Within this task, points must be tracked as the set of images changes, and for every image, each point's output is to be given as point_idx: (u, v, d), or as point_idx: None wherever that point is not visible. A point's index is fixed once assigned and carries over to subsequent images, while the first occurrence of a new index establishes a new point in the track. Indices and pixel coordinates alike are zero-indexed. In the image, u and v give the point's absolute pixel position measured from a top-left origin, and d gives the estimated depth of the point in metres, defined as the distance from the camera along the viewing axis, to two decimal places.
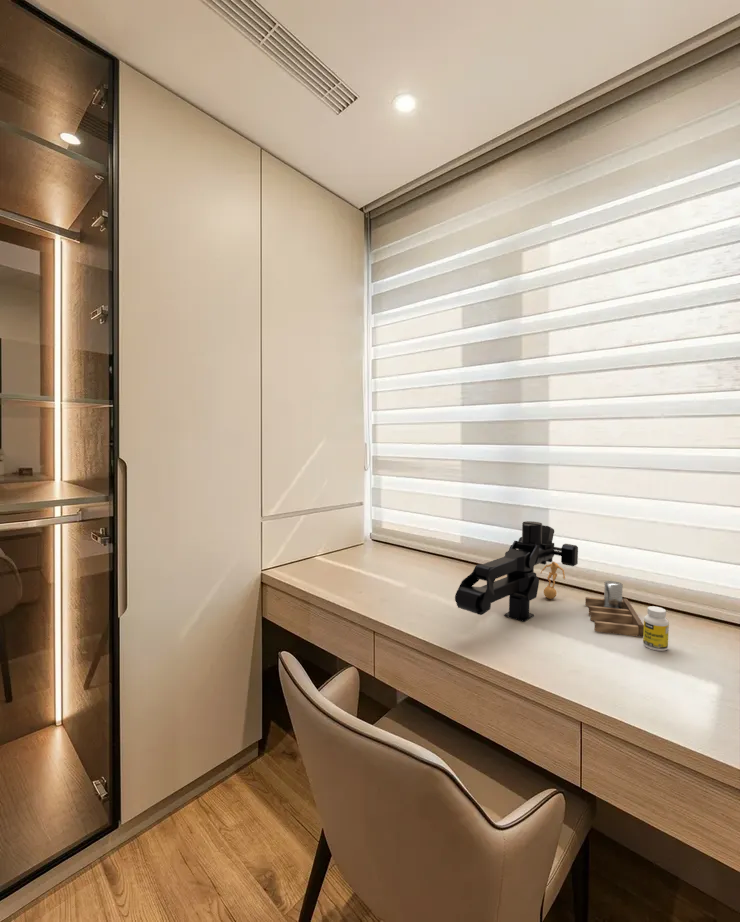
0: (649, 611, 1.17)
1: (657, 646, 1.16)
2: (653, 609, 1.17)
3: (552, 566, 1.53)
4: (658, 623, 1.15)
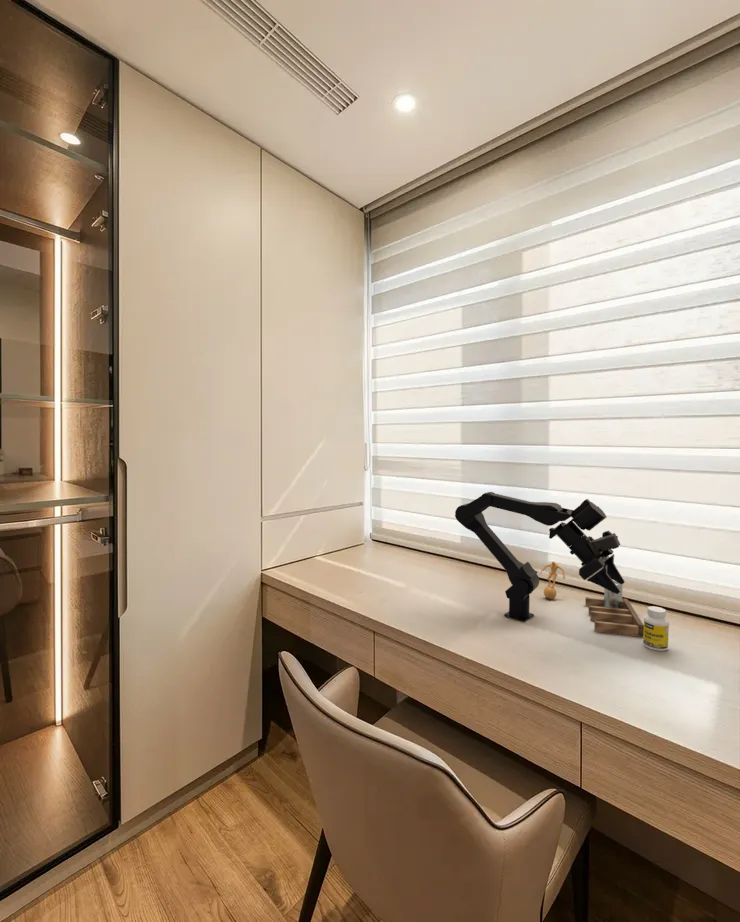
0: (649, 611, 1.17)
1: (657, 646, 1.16)
2: (653, 609, 1.17)
3: (552, 566, 1.53)
4: (658, 623, 1.15)
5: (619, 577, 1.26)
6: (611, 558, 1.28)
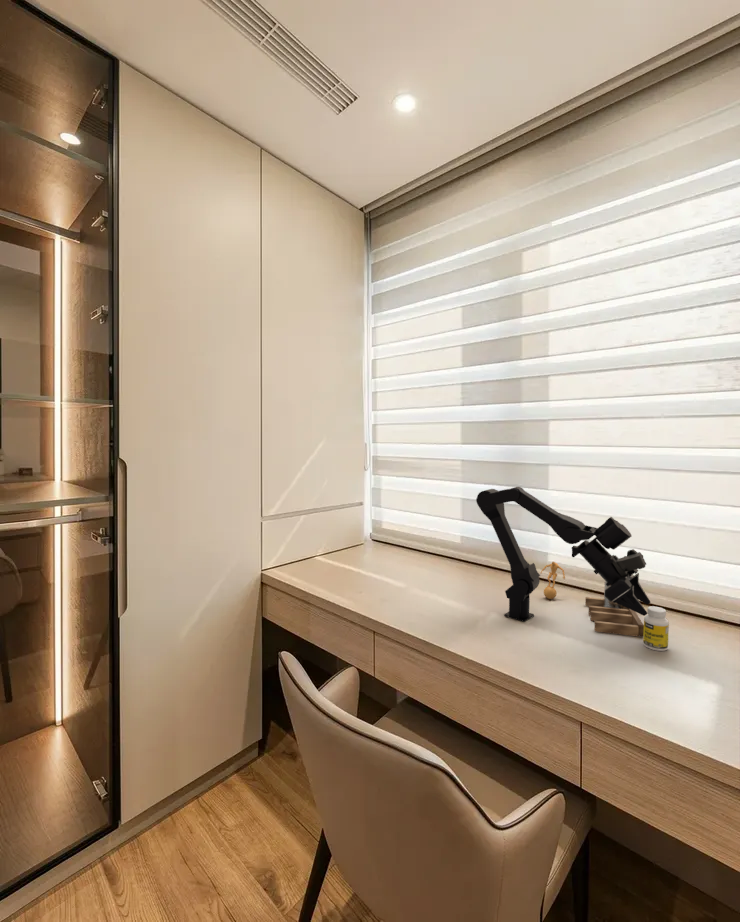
0: (649, 611, 1.17)
1: (657, 646, 1.16)
2: (653, 609, 1.17)
3: (552, 566, 1.53)
4: (658, 623, 1.15)
5: (645, 597, 1.23)
6: (636, 577, 1.24)
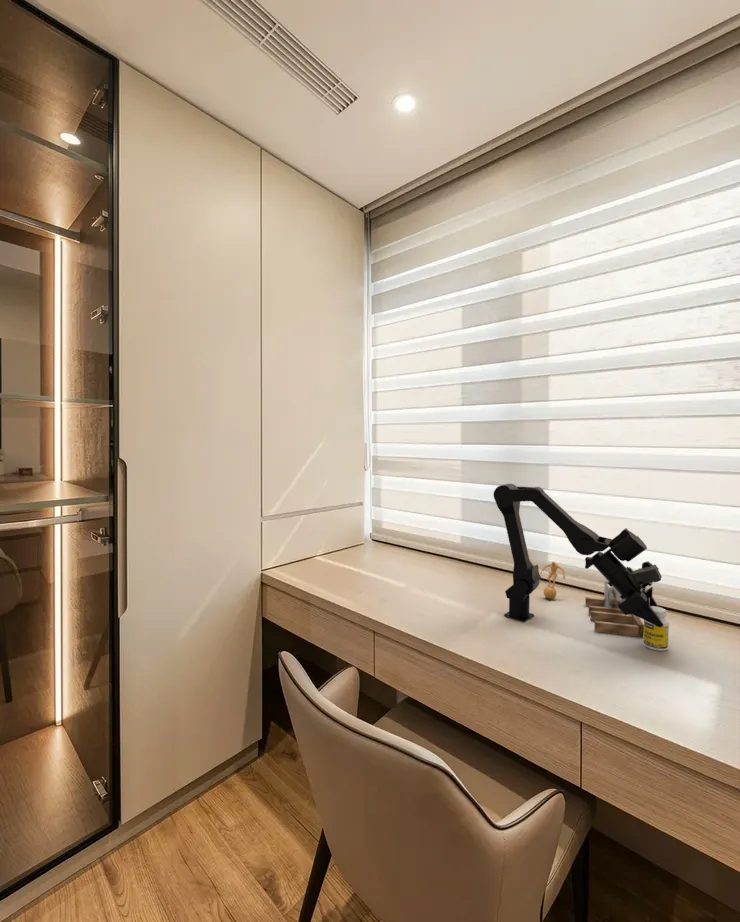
0: None
1: (657, 646, 1.16)
2: (653, 609, 1.17)
3: (552, 566, 1.53)
4: None
5: None
6: (650, 592, 1.21)
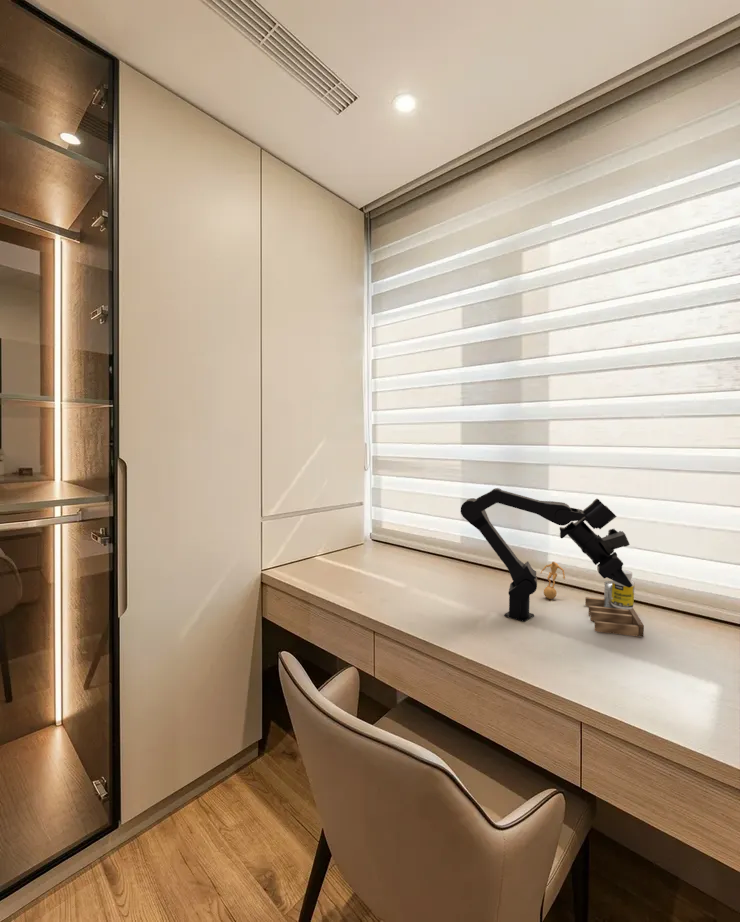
0: None
1: (626, 605, 1.26)
2: None
3: (552, 566, 1.53)
4: None
5: None
6: None
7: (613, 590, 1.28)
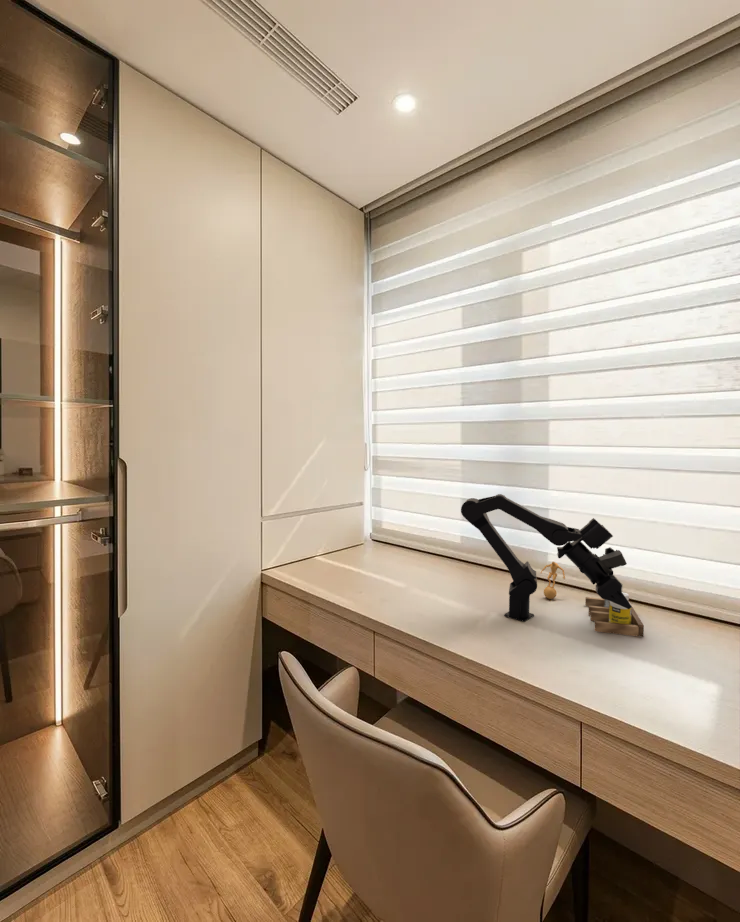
0: None
1: None
2: None
3: (552, 566, 1.53)
4: None
5: None
6: (611, 573, 1.34)
7: (610, 612, 1.29)
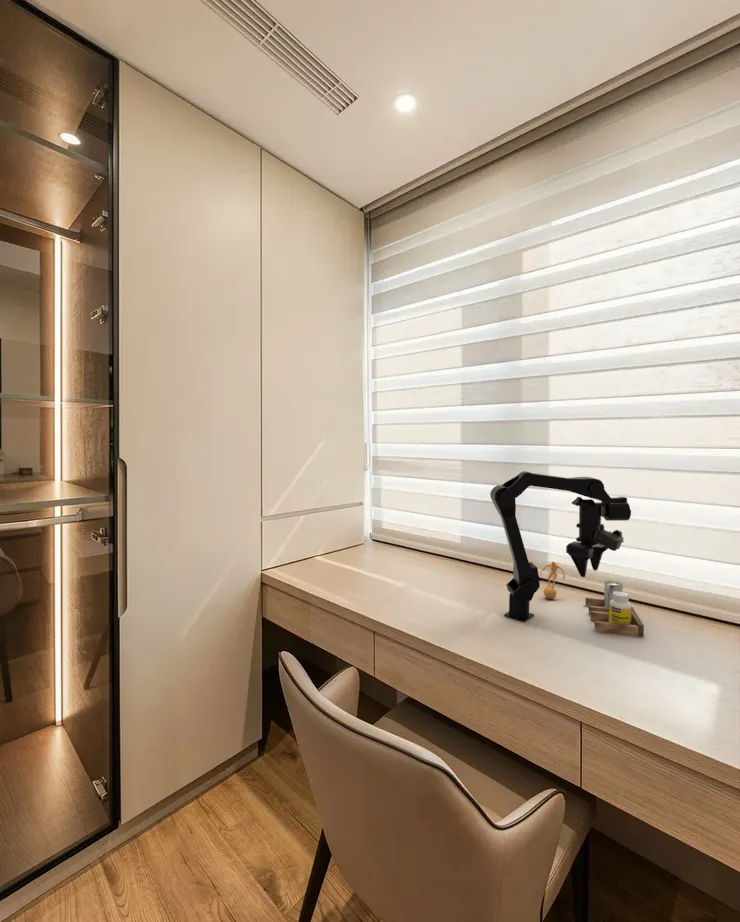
0: (615, 596, 1.28)
1: None
2: (618, 594, 1.28)
3: (552, 566, 1.53)
4: (624, 606, 1.26)
5: (596, 564, 1.39)
6: (604, 549, 1.38)
7: (610, 612, 1.29)
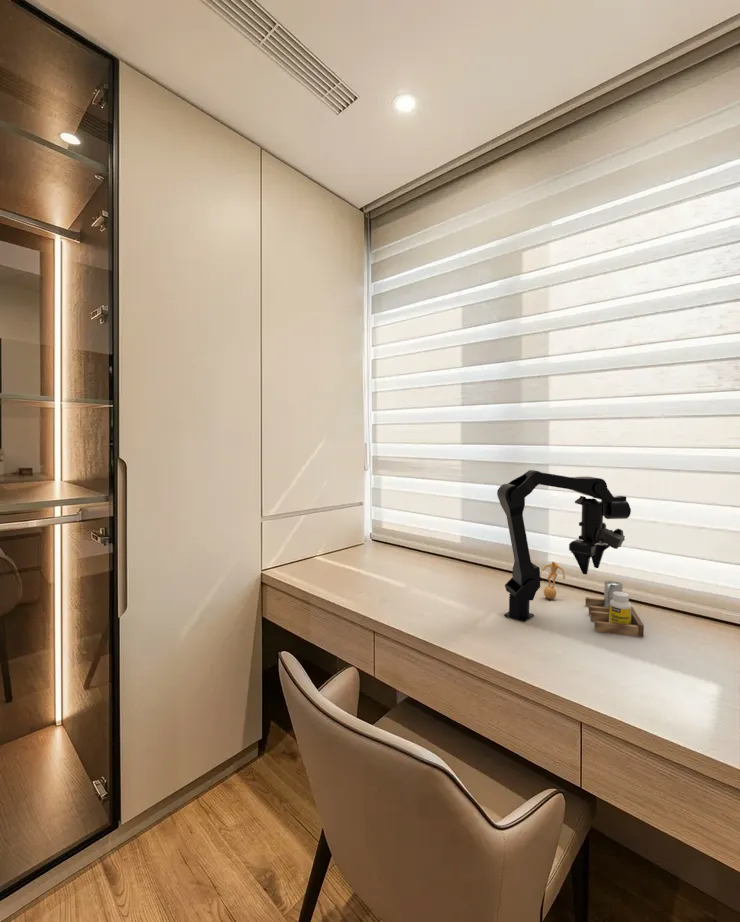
0: (615, 596, 1.28)
1: None
2: (618, 594, 1.28)
3: (552, 566, 1.53)
4: (625, 606, 1.26)
5: (597, 562, 1.42)
6: (605, 547, 1.41)
7: (610, 612, 1.29)
